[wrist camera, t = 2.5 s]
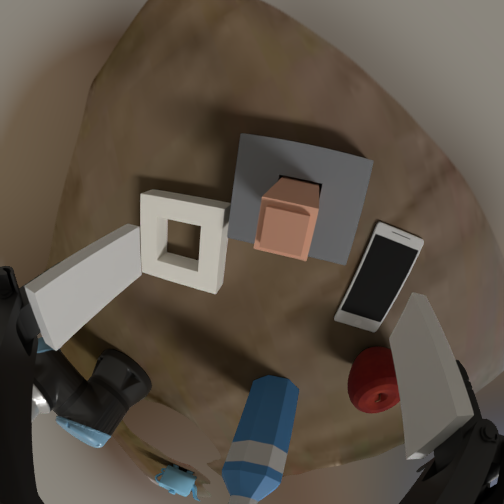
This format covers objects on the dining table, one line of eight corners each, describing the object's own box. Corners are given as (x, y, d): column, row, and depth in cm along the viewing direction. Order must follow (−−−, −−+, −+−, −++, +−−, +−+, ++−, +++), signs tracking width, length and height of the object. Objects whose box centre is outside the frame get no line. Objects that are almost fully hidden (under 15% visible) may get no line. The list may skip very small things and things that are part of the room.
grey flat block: (236, 226, 35) (227, 237, 32) (249, 134, 30) (240, 133, 27) (343, 251, 33) (345, 265, 29) (366, 158, 28) (373, 160, 24)
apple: (412, 341, 36) (426, 388, 27) (383, 379, 40) (388, 424, 31) (363, 327, 37) (369, 377, 28) (337, 368, 41) (335, 416, 32)
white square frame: (152, 263, 41) (142, 271, 38) (152, 189, 36) (140, 193, 33) (222, 283, 39) (215, 294, 37) (232, 203, 34) (224, 209, 31)
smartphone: (333, 316, 38) (333, 320, 37) (377, 219, 31) (378, 221, 30) (374, 329, 37) (375, 333, 36) (422, 238, 30) (425, 240, 29)
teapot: (162, 463, 89) (151, 485, 77) (163, 458, 84) (151, 482, 72) (206, 482, 87) (197, 505, 75) (211, 478, 82) (201, 503, 70)
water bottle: (244, 375, 46) (197, 494, 24) (294, 373, 43) (263, 507, 21) (258, 404, 49) (223, 510, 27) (303, 403, 46) (280, 518, 24)
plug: (280, 205, 33) (251, 251, 20) (285, 173, 31) (260, 198, 18) (312, 212, 32) (306, 264, 19) (319, 180, 30) (318, 211, 17)
